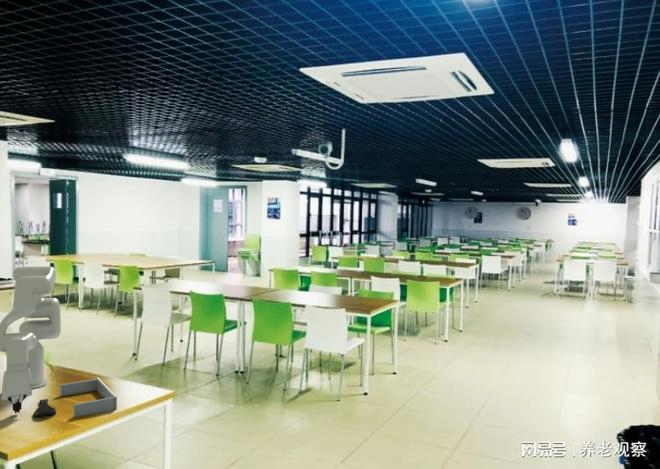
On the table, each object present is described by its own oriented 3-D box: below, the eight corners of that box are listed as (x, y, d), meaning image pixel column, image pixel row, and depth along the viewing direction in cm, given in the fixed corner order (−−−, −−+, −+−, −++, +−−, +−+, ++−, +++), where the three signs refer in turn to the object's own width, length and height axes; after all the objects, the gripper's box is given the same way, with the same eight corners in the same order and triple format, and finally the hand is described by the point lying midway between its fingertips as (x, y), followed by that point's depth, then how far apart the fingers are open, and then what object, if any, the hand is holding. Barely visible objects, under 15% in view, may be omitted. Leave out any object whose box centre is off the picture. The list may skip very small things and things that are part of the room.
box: (60, 395, 230) (60, 383, 230) (98, 389, 240) (98, 377, 239) (74, 417, 204) (74, 403, 204) (116, 409, 214) (116, 395, 214)
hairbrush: (54, 393, 225) (56, 408, 204) (54, 401, 225) (56, 417, 204) (32, 396, 221) (33, 411, 200) (32, 404, 221) (33, 421, 199)
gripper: (37, 362, 213) (36, 405, 213) (-6, 368, 204) (-6, 413, 204) (39, 366, 207) (39, 410, 207) (-4, 372, 198) (-5, 418, 198)
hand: (17, 411), depth 206 cm, fingers closed
